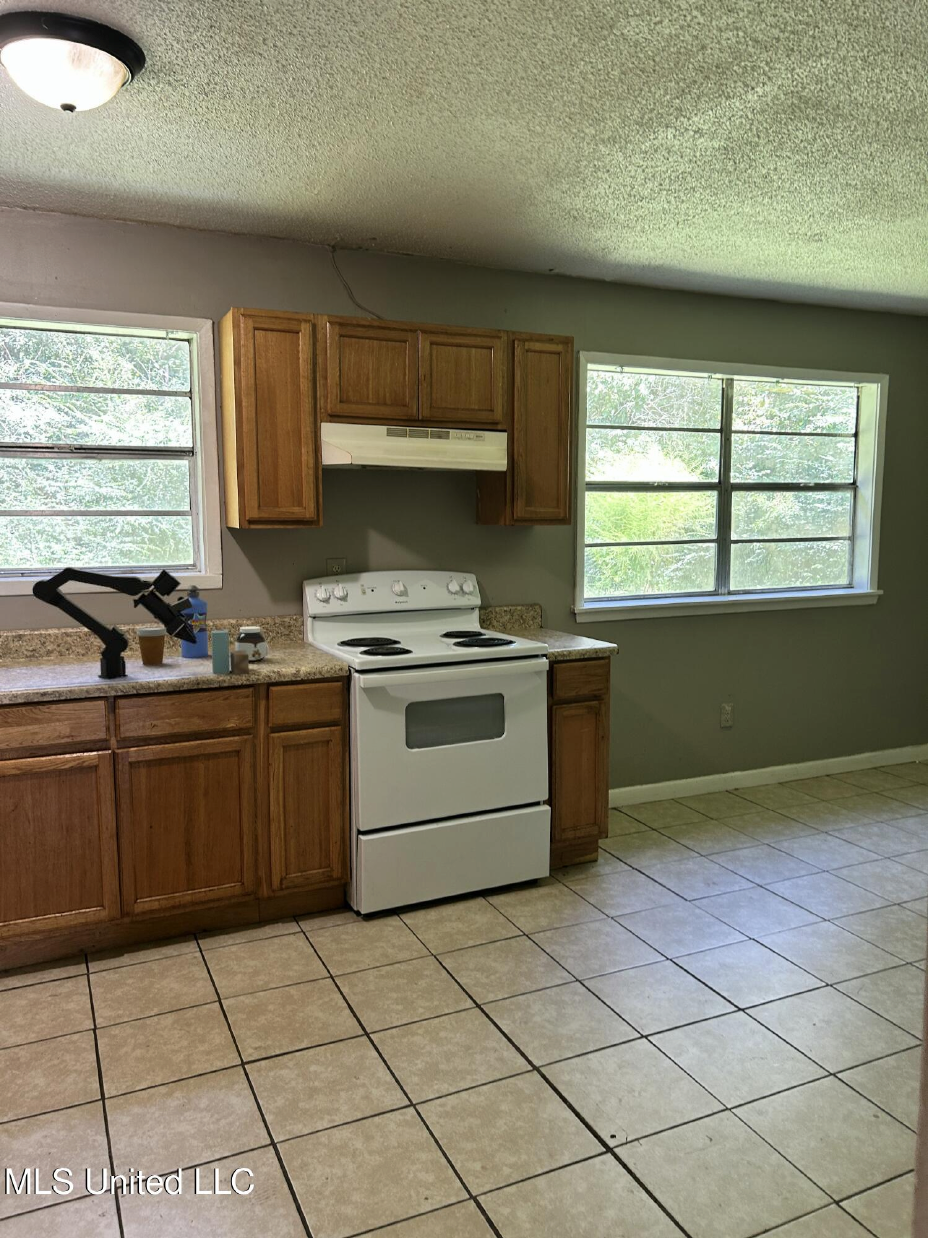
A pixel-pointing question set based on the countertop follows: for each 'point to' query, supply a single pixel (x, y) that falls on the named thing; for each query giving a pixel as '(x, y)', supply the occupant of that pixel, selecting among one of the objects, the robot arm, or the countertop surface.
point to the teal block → (220, 652)
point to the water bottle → (196, 626)
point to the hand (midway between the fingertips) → (195, 641)
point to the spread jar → (252, 643)
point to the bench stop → (239, 662)
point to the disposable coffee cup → (151, 644)
